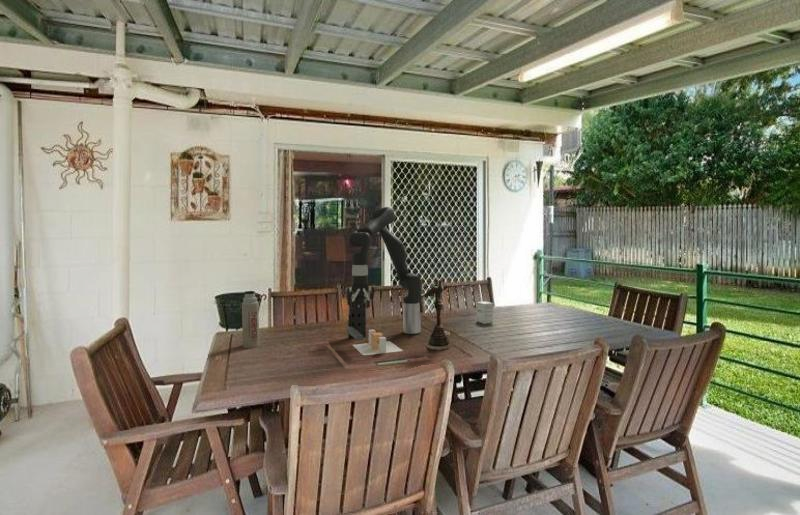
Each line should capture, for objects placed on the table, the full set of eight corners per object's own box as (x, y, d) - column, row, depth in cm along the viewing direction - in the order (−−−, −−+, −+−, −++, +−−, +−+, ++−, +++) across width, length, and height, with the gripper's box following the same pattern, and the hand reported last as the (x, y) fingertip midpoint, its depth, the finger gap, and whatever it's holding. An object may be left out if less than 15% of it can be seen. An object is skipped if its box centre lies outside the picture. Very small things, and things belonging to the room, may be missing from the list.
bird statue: (414, 344, 238) (414, 276, 235) (434, 340, 245) (434, 275, 243) (433, 351, 225) (434, 280, 222) (454, 347, 232) (455, 278, 229)
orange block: (379, 346, 229) (379, 332, 228) (385, 350, 222) (385, 335, 221) (371, 347, 227) (371, 333, 226) (376, 351, 220) (376, 336, 220)
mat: (399, 356, 217) (399, 354, 217) (407, 362, 208) (407, 360, 208) (371, 359, 212) (371, 357, 212) (378, 365, 203) (378, 363, 203)
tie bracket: (389, 343, 238) (389, 327, 238) (403, 353, 221) (403, 336, 220) (352, 347, 231) (352, 331, 230) (363, 358, 213) (363, 340, 213)
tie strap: (352, 330, 230) (352, 326, 230) (363, 339, 213) (363, 335, 213) (346, 331, 229) (346, 327, 229) (356, 340, 212) (356, 336, 211)
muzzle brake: (349, 340, 245) (368, 339, 248) (348, 288, 243) (368, 287, 246) (346, 336, 254) (364, 334, 257) (345, 285, 252) (364, 285, 255)
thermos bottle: (260, 346, 233) (259, 291, 231) (244, 348, 229) (242, 293, 227) (257, 342, 240) (256, 289, 238) (241, 344, 236) (240, 290, 234)
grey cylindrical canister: (476, 321, 290) (476, 301, 289) (486, 320, 294) (486, 301, 292) (483, 324, 284) (483, 303, 283) (493, 322, 287) (493, 302, 286)
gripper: (371, 272, 226) (372, 306, 227) (343, 273, 220) (343, 308, 222) (376, 274, 219) (376, 308, 220) (347, 275, 213) (347, 311, 215)
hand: (360, 308), depth 221 cm, fingers open, 6 cm apart
